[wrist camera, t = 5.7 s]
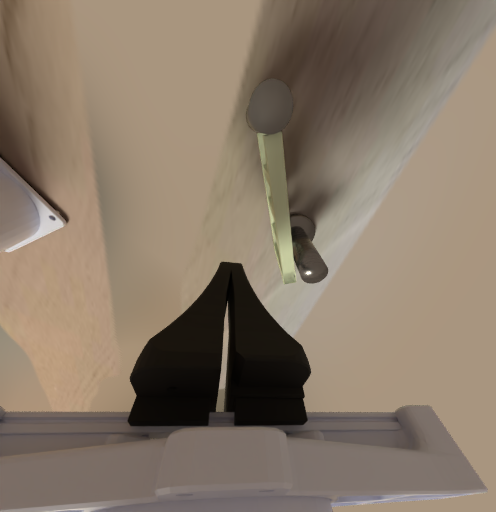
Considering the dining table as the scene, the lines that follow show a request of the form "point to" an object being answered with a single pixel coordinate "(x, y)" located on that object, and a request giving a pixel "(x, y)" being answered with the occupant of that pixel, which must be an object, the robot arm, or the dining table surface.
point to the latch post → (306, 250)
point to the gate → (274, 163)
